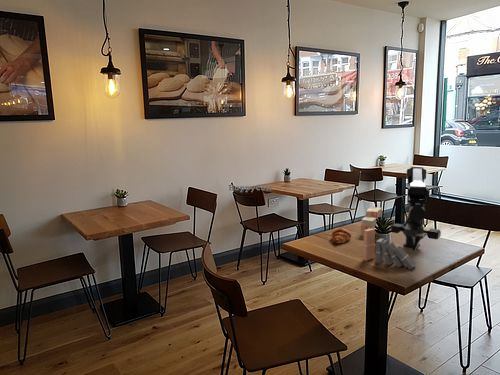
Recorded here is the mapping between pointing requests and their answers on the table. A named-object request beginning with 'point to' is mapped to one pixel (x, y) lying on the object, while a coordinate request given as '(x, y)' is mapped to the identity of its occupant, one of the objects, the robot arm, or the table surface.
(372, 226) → the stack of blocks
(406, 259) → the domino
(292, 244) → the table surface
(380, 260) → the domino
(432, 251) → the table surface
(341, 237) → the croissant
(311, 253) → the table surface
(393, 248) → the domino
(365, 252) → the domino
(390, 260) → the domino
